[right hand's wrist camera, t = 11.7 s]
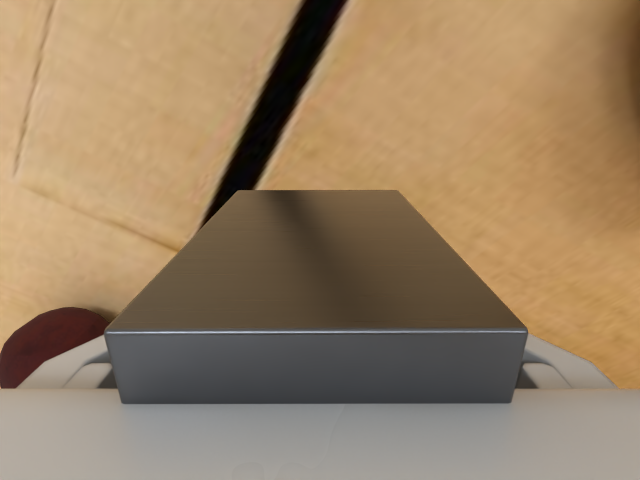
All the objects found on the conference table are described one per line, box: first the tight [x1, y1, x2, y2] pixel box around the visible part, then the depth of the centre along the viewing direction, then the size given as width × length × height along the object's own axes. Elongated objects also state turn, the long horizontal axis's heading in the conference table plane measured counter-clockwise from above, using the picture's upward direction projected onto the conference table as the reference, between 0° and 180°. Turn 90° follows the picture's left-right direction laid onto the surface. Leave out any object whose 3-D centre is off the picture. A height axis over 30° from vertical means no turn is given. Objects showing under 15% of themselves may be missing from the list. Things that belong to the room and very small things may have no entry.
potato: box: [0, 307, 109, 389], centre depth 26 cm, size 7×8×7 cm
